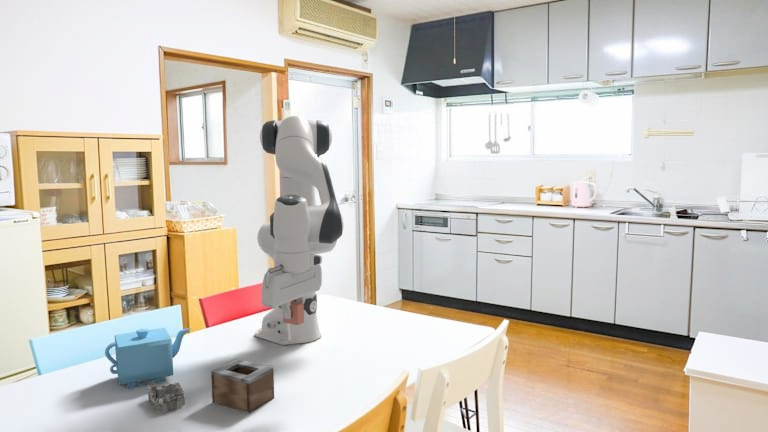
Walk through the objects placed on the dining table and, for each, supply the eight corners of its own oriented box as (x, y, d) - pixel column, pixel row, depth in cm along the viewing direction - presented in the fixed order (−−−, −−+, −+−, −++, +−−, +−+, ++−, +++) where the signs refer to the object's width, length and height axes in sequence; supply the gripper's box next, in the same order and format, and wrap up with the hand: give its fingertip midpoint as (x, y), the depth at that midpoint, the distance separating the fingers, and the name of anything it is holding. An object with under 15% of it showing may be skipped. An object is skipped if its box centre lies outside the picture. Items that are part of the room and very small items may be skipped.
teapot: (108, 393, 142) (105, 341, 140) (105, 378, 151) (102, 329, 149) (197, 376, 152) (195, 328, 151) (189, 363, 162) (187, 317, 160)
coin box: (212, 402, 137) (211, 371, 136) (237, 388, 145) (236, 359, 144) (249, 412, 131) (248, 380, 130) (274, 397, 139) (273, 367, 138)
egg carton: (146, 399, 139) (145, 383, 139) (177, 392, 143) (176, 377, 143) (154, 416, 130) (153, 399, 130) (187, 408, 134) (186, 391, 134)
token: (283, 322, 138) (282, 303, 137) (289, 319, 140) (289, 300, 139) (298, 325, 136) (297, 305, 135) (304, 322, 138) (303, 302, 137)
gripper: (275, 271, 125) (277, 330, 127) (325, 255, 143) (326, 307, 145) (254, 268, 128) (255, 325, 130) (305, 253, 146) (306, 304, 148)
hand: (293, 316), depth 138 cm, fingers closed on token, 2 cm apart
